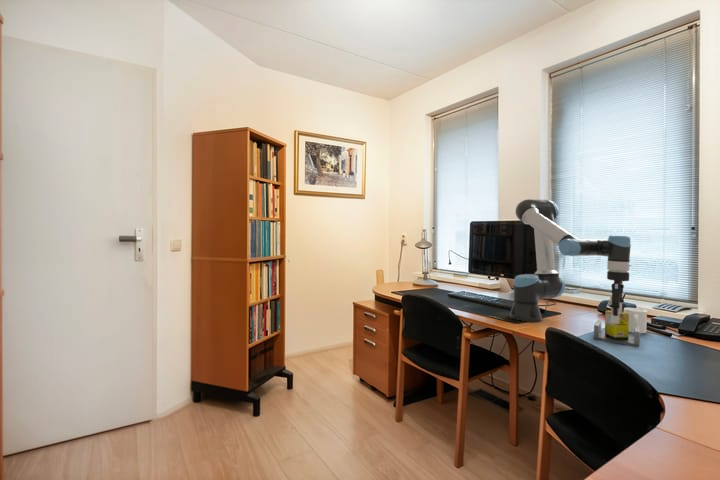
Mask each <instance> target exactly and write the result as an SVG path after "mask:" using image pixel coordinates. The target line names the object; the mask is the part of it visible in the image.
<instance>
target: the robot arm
mask: <svg viewBox="0 0 720 480" xmlns="http://www.w3.org/2000/svg"><path fill="white" fill-rule="evenodd" d="M559 211H560V210H559V207H558V205H557V204H556V203H555V202H554V201H552V200H548V199H524V200H521V201H520V202H519V203H518V204H517V205H516V208H515V215H516V217H517V219H518V220H519V221H520V222H522V223H523V224H524V225H530V226H531V228H533V229H534V230H533V231H534V233H533V234H534V244H535V245H534V246H535V258H536V260H535V261H536V271H534V273H533V274H532V273H524V274H518V275H516V276H515V277H514V281H513V282H514V283H513V305H512V307H511V309H510V312H509V318H510V319H512V318H513V319H512V320H515V319H516V320H515V321H519V320H521V321H520V322H525V321H526V322H527V323H539V322H542V318H543V317H542V313H541V310H540V307H539V299H556V298H559V297H560V296H562V294H564V292H565V291H566V284H565V281H564V280H563V278H562V277H560V273H559V272H558V271H557V270H556V264H555V251H554V244H555V245H556V246H557V247H558V251H560V254H561V255H564V256H566V257H578V256H585V257H586V256H589V257H591V256H592V257H593V256H600V257H601V256H602V257H607V263H606V264H607V267H606V268H607V272H606V273H607V275H606V279H607V280H609V281H613V283H612V284H611V294H612V295H611V304H609V308H611V309H610V311H611V323H616V324H619V316H620V311H621V312H623V303H625V300H624V299H623V292H624V287H625V285H624V284H623V282H629V281H630V272H629V271H630V267H632V264H631V263H630V261H631V259H630V258H631V257H630V256H631V246H632V245H631V237H630V236H629V235H622V234H621V235H619V234H618V235H617V234H615V235H613V234H612V235H611V234H610V235H609V236H608V239H603V238H602V239H601V238H577V237H575V236H574V235H572V233H569V232H568V231H567V230H565V229H564V228H562V226H559V225H558V224H556V223H555V221H556V220H557V218H558V216H559Z"/></svg>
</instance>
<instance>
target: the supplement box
mask: <svg viewBox="0 0 720 480" xmlns="http://www.w3.org/2000/svg"><path fill="white" fill-rule="evenodd" d="M604 313H605V314H604V319H605V320H604V332H605V335H607V336H609V337H612V338H614V339H628V336H629V333H630V332H629V314H628V313H624V311H622V312H621V311H620V316H619V324H616V323H611V310H605V311H604Z"/></svg>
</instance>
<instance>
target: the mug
mask: <svg viewBox="0 0 720 480" xmlns="http://www.w3.org/2000/svg"><path fill="white" fill-rule="evenodd" d="M623 312H624V313H628V314H629V332H628V333H631V332H632V334H634V331H635V326H640V333H645V334H646V333H647V323H648V322H647V321H648V320H647V319H648V318H647V317H648V310H646V309H642V308H638V307H637V308H636V307H624V308H623Z"/></svg>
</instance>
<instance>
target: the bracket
mask: <svg viewBox="0 0 720 480" xmlns="http://www.w3.org/2000/svg"><path fill="white" fill-rule="evenodd" d="M633 335H634V336H632V335H628V339H614V338H612V337H609V336H607V335H605V331H603V330H602V319H597V320H596V322H595V323H594V324H593V340H598V341H604V342H609V343H615V344H620V345H627V346H632V347H638V348H639V347H640V340H641V334H640V326H635V331H634V333H633Z"/></svg>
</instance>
